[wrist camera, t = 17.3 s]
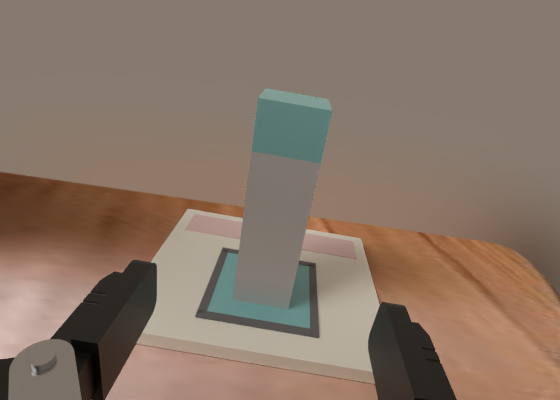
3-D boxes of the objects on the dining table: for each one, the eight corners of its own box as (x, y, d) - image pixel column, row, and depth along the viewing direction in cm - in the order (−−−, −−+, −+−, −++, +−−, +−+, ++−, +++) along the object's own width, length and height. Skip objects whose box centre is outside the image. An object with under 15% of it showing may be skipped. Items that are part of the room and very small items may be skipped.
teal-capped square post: (232, 299, 24) (258, 97, 18) (242, 266, 28) (266, 88, 22) (288, 309, 24) (332, 110, 18) (290, 274, 28) (327, 99, 22)
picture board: (106, 338, 21) (105, 325, 21) (187, 217, 35) (187, 207, 35) (394, 387, 21) (400, 375, 21) (358, 246, 36) (361, 237, 35)
